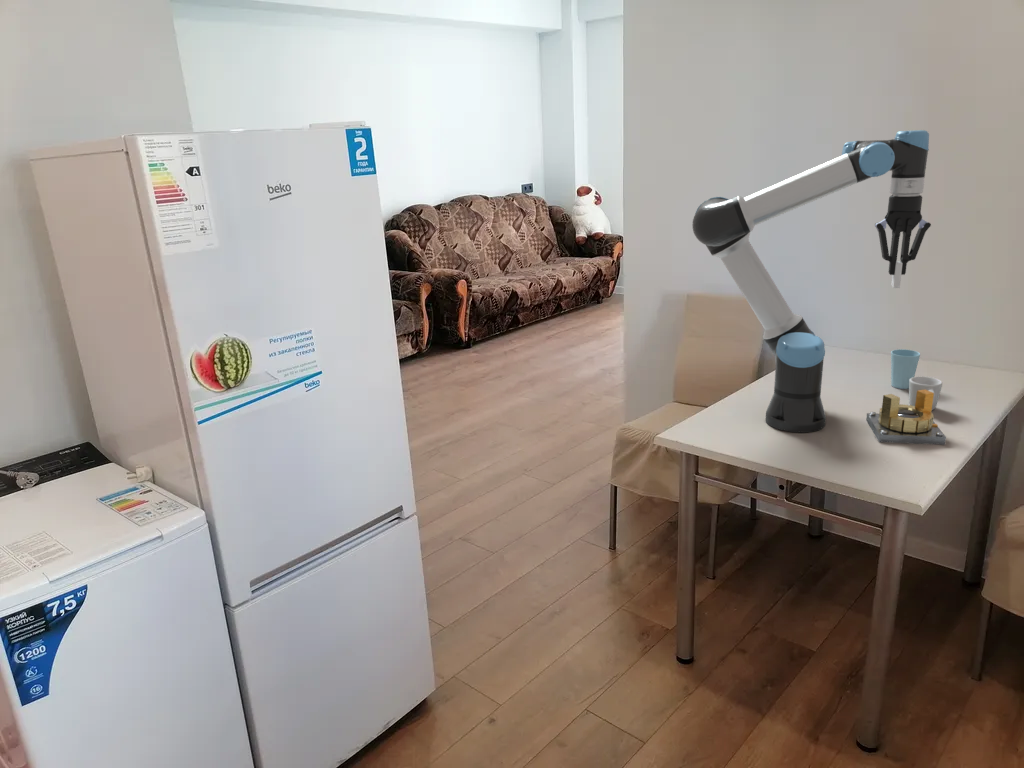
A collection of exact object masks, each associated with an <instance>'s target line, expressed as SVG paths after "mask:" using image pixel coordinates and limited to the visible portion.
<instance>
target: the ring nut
mask: <svg viewBox="0 0 1024 768" xmlns="http://www.w3.org/2000/svg"><path fill="white" fill-rule="evenodd" d="M933 396H934V393H933V392H930V391H928V390H917V395H916V403H915V406H912V405H910V404H900V402H901V401H900V400H901V398H900V397H899V396H897V395H895V394H893V393H889V394H883V396H882V403H881V404H882V405H881V407H880V408H879V412H878V414H879V423H880V424H881V425H882V426H884V427H886V428H890V429H892V430H896V431H900V432H901V431H903V432H912V433H915V432H917V433H918V432H925V431H928V430H930V429H931V428H932V425H933V421H934V419H935V418H934V416H935V415H934V413H933V412H932V411H933V410H932V403H933ZM898 410H911V411H915V412H917V413H918V414H919V417H918V418H904V417H899V416H898Z"/></svg>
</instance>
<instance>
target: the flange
mask: <svg viewBox="0 0 1024 768" xmlns="http://www.w3.org/2000/svg"><path fill="white" fill-rule="evenodd" d="M898 416H899V417H904V418H918V417H919V414H918V413H917V412H915V411H911V410H898ZM865 419H866V420H865V421H866V422H867V424H868V426H869V428H870V430H871V432H872V433H873V434H874V436H875V438H876V440H877V441H878V443H893V444H894V443H897V444H916V445H917V444H918V445H919V444H920V445H943V446H946V440H947V436H946V435H945V433H943V432H942V430H941V429H940V427H939V426H938V424H937V423H935V422H934V420H933V425H932V428H931V429H930V430H928V431H925V432H918V433H917V432H915V433H912V432H903V431H901V432H900V431H896V430H892V429H890V428H886V427H884V426H882V425H881V424H880V423H879V412H875V411H870V412H867V413H866V418H865Z"/></svg>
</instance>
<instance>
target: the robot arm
mask: <svg viewBox="0 0 1024 768" xmlns="http://www.w3.org/2000/svg"><path fill="white" fill-rule="evenodd" d="M929 141H930V133H929V131H927V130H925V129H923V130H922V129H919V130H918V129H917V130H916V129H915V130H913V129H912V130H899V131H897V132H896V134H895V136H894V139H893V138H892V139H886V140H885V139H883V140H882V139H881V140H880V139H879V140H877V139H876V140H854V141H847V142H845V143H844V144H843V146H842V150H841V155H840V156H838V157H835V158H833V159H831V160H828V161H826V162H824V163H822V164H819V165H817V166H815V167H812V168H810V169H808V170H804V171H803V172H800V173H798V174H796V175H794V176H791V177H788V178H786V179H784V180H782V181H779V182H778V183H775V184H773V185H771V186H768V187H765V188H763V189H761V190H759V191H756V192H754V193H752V194H750V195H747V196H745V197H744V196H740V195H737V196H734V197H732V198H726V197H723V196H715V197H711V198H709V199H706V200H704V201H703V202H702V203H701V204H700V205H699V206H697V207H698V208H697V209H696V210H695V214H694V216H693V219H692V231H693V234H694V236H695V238H696V239H697V240H698V241H699V242H700V243H702V244H703V245H705V246H706V248H707V250H708V251H709V253H710V254H711V256H713V257H717V258H719V259H720V260H721V261H722V262H723V265H724V266H725V268H726V269H727V271H728V273H729V274H730V275H731V277H732V279H733V280H734V282H735V284H736V285H737V287H738V289H739V291H740V292H741V293H742V296H744V299H745V300H746V302H747V303H748V305H749V306H750V308H751V310H752V311H753V313H754V315H755V317H756V318H757V320H758V321H759V322H760V323H759V324H760V325H761V326H762V327H763V329H764V331H763V335H762V338H763V340H764V341H765V344H767V346H768V348H769V350H770V351H771V353H772V355H773V356H774V361H775V373H774V387H773V395H772V397H771V400H770V402H769V404H768V406H767V409H766V411H765V422H766V424H767V425H768V426H770V427H773V428H774V429H777V430H781V431H784V432H791V433H810V432H811V433H812V432H818V431H820V430H822V429H823V428H825V426H826V417H827V416H826V411H825V409H824V405H823V401H822V397H821V392H822V384H823V383H822V382H823V381H822V380H823V371H824V361H825V360H824V359H825V355H826V349H825V348H826V347H825V342H824V340H823V339H822V338H820V336H819V335H816V334H815V333H814V332H813V331H812V330H811V328H810V327H809V325H808V324H807V322H806V321H805V319H804V318H803V316H802V315H801V314H796V313H794V312H793V311H792V309H791V308H790V307H789V306H790V305H788V303H787V301H786V299H785V298H784V297H783V295H782V292H780V289H779V288H778V286H777V284H776V283H775V282H774V280H773V278H772V276H771V275H770V273H769V272H768V270H767V268H766V267H765V265H764V263H763V262H762V260H761V258H760V257H759V255H758V254H757V252H756V251H755V248H754V247H753V246H752V244H751V242H750V241H749V240H750V239H749V238H750V235H751V232H753V230H754V228H755V226H758V225H759V224H762V223H764V222H767V221H769V220H771V219H774V218H776V217H778V216H781V215H784V214H786V213H788V212H791V211H793V210H796V209H798V208H800V207H803V206H805V205H808V204H810V203H812V202H815V201H817V200H819V199H822V198H824V197H827V196H829V195H831V194H834V193H836V192H839V191H841V190H843V189H846V188H848V187H852V186H853V185H855V184H858V183H861V182H863V181H866V180H868V179H871V178H875V177H877V178H878V177H881V176H883V175H885V174H887V173H888V172H890V171H891V176H890V177H891V178H890V187H889V193H890V196H889V198H888V206H887V212H886V215H885V216H884V219H882V220H881V221H879V222H875V223H874V227H875V228H876V230H877V232H878V236H879V242H880V243H879V244H880V251H881V257H882V259H883V260H885V261H887V262H889V264H888V265H889V266H888V274H889V275H890V276H891V282H890V287H891V288H893V289H900V288H901V280H902V276H905V274H906V273H907V265H908V263H909V262H910V261H915V259H916V257H917V255H918V252H919V250H920V248H921V245H922V242H923V240H924V237H925V234H926V232H927V231H928V230H929V228H930V227H932V224H931V222H929V221H926V220H925V219H923V215H922V212H921V211H922V203H923V196H922V195H921V194H922V193H924V185H925V177H926V169H927V161H928V160H927V159H928V154H929V153H928V152H929V151H930V149H929V148H930V146H929V143H930V142H929ZM887 226H888V227H889V229H890V230H891V241H890V242H891V243H890V250H889V247H888V239H887V232H886V230H885V229H887ZM917 226H918V229H917V232H916V233H915V237H914V239H913V241H912V245H911V247H910V244H911V243H910V242H911V236H912V232H913V231H914V229H915V228H916V227H917ZM901 233H902V240H901V248H900V249H901V250H900V260H898V261H897V259H898V251H899V246H900V245H899V243H900V237H901Z"/></svg>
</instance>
